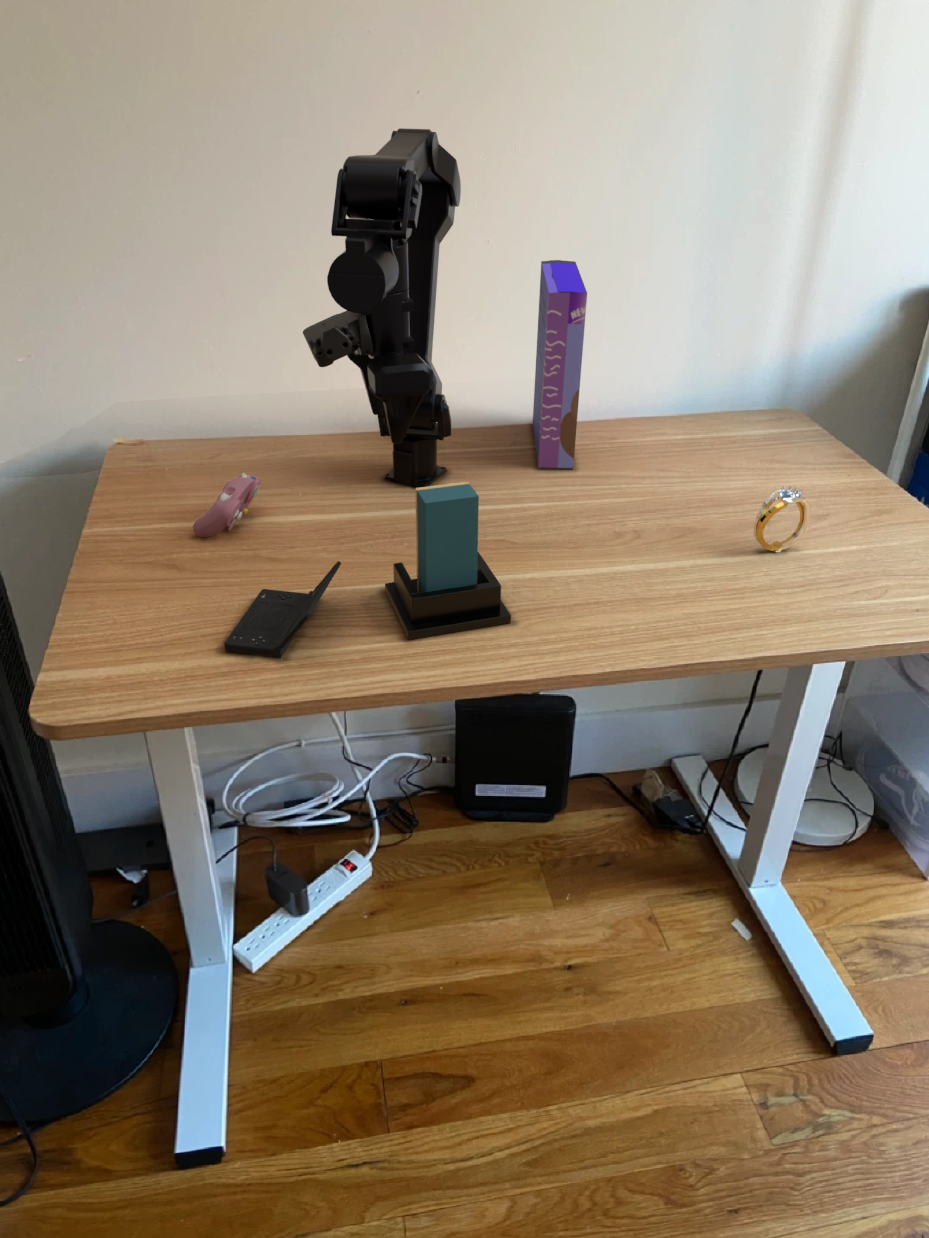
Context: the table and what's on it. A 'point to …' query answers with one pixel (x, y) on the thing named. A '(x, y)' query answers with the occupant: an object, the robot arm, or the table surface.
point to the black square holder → (447, 604)
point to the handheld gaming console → (275, 620)
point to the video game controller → (228, 506)
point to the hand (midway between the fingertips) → (386, 428)
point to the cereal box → (558, 363)
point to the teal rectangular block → (446, 536)
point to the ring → (766, 515)
